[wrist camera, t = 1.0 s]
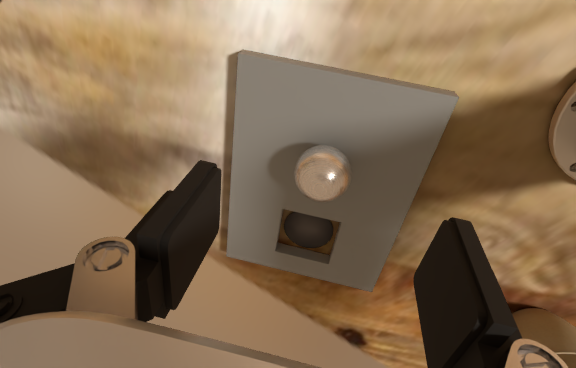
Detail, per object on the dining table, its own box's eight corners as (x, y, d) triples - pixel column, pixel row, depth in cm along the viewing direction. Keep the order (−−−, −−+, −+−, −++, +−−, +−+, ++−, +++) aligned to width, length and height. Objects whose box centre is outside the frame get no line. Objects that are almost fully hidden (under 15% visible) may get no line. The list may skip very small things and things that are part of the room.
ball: (358, 142, 29) (358, 170, 25) (345, 187, 32) (342, 219, 28) (303, 130, 30) (294, 156, 26) (295, 176, 33) (285, 206, 28)
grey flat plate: (454, 91, 27) (459, 97, 26) (371, 282, 41) (371, 292, 39) (243, 49, 28) (238, 53, 27) (230, 247, 42) (226, 256, 41)
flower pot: (589, 338, 39) (630, 404, 33) (496, 351, 43) (518, 412, 37) (572, 283, 35) (614, 346, 29) (472, 303, 39) (491, 362, 33)
